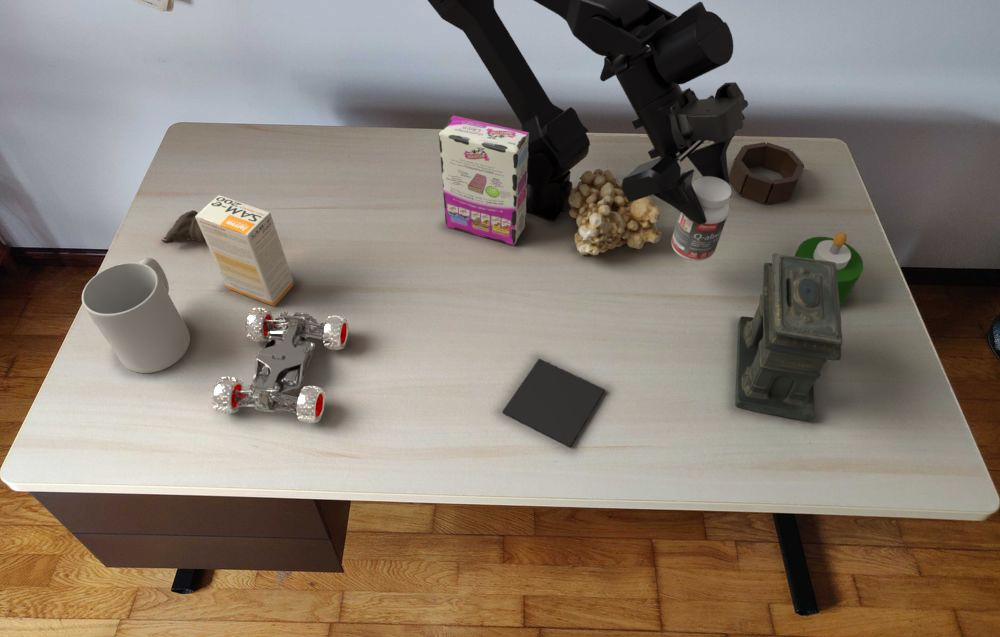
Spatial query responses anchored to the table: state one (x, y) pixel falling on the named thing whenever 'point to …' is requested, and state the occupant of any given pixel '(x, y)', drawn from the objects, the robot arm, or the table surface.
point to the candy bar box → (484, 178)
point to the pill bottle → (714, 202)
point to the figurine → (185, 229)
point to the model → (789, 337)
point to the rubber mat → (554, 402)
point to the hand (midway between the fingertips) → (715, 211)
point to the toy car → (282, 365)
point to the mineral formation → (610, 215)
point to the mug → (137, 315)
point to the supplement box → (246, 249)
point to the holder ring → (761, 186)
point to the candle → (835, 259)
